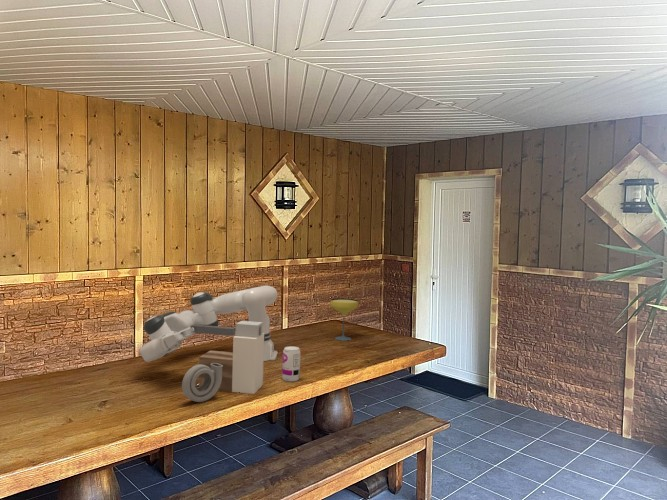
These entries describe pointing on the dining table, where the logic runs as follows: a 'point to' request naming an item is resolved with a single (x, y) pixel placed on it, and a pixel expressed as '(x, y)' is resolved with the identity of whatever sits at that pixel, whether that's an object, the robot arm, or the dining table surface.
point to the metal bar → (213, 330)
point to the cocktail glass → (344, 310)
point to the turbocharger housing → (209, 385)
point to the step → (227, 368)
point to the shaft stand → (248, 357)
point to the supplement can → (291, 364)
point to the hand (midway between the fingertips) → (196, 327)
